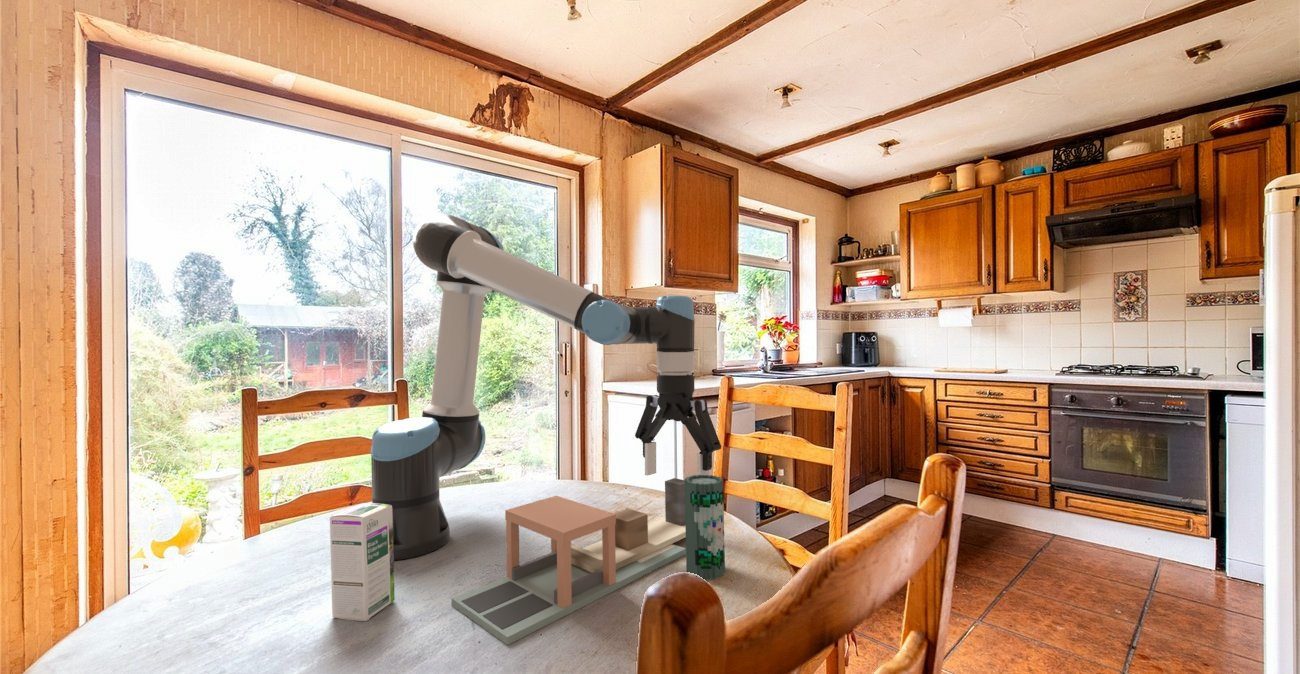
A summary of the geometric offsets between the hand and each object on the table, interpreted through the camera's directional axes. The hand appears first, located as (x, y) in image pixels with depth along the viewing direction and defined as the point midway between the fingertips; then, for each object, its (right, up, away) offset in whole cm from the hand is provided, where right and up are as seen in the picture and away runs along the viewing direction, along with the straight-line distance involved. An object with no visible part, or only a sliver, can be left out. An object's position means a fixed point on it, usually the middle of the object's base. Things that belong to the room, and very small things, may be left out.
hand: (675, 480), depth 100 cm
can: (+4, -10, -17) cm, 20 cm away
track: (-16, -10, -19) cm, 27 cm away
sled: (-7, -9, -9) cm, 15 cm away
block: (-9, -8, -11) cm, 16 cm away
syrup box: (-46, -11, -28) cm, 55 cm away
